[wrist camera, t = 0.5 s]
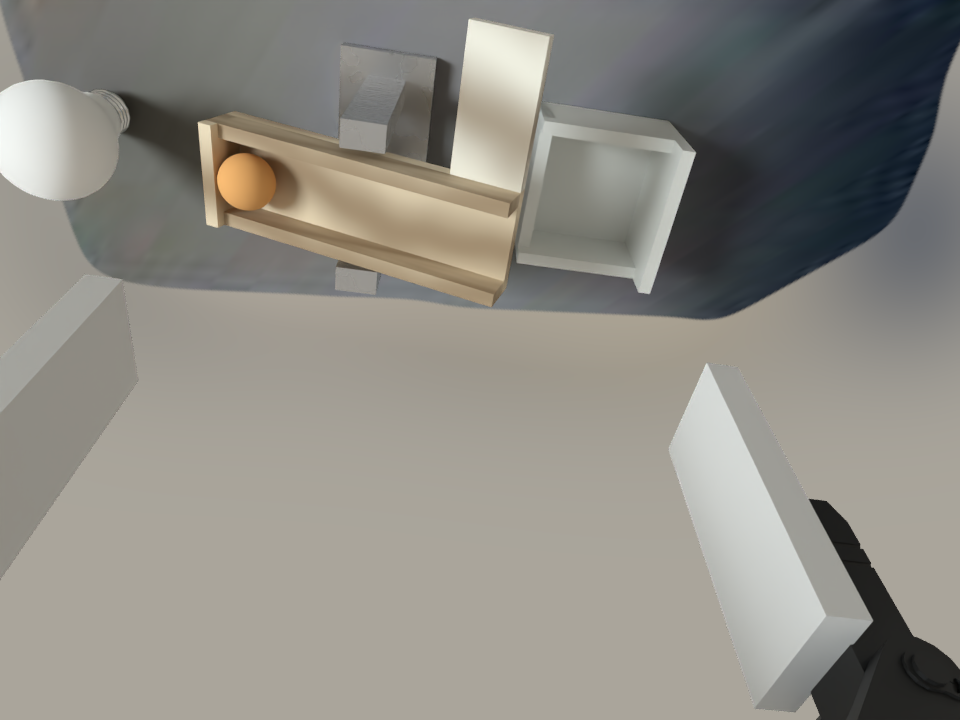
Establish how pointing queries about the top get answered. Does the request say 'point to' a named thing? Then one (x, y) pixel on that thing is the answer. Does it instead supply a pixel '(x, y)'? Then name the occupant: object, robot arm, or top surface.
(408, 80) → the stand
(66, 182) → the light bulb
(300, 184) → the lever
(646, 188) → the tray
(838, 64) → the top surface
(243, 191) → the ball
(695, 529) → the robot arm
